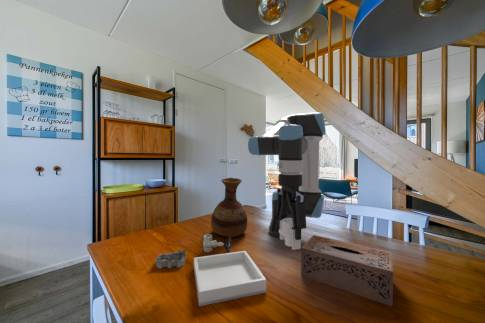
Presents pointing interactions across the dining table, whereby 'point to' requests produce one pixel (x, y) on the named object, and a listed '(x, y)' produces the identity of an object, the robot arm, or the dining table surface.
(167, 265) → the grey open frame part
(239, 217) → the brown vase
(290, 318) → the dining table surface
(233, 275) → the tray
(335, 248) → the tissue box cover
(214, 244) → the valve
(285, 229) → the pipe fitting
